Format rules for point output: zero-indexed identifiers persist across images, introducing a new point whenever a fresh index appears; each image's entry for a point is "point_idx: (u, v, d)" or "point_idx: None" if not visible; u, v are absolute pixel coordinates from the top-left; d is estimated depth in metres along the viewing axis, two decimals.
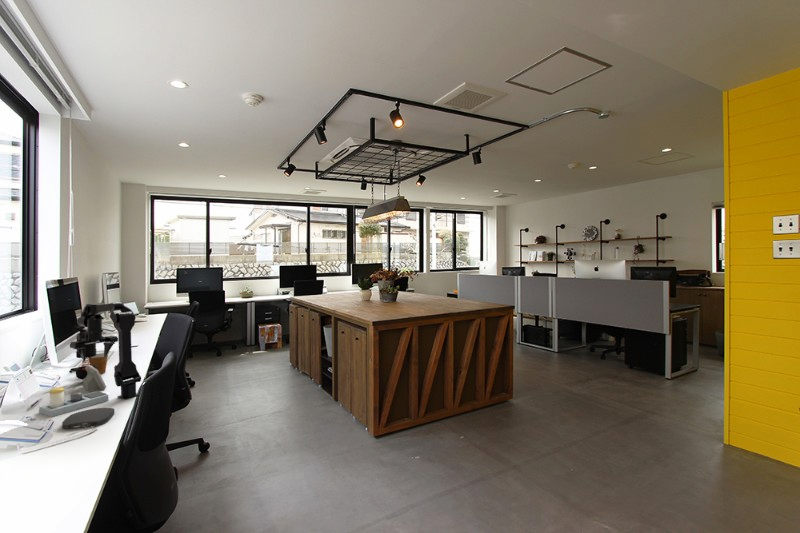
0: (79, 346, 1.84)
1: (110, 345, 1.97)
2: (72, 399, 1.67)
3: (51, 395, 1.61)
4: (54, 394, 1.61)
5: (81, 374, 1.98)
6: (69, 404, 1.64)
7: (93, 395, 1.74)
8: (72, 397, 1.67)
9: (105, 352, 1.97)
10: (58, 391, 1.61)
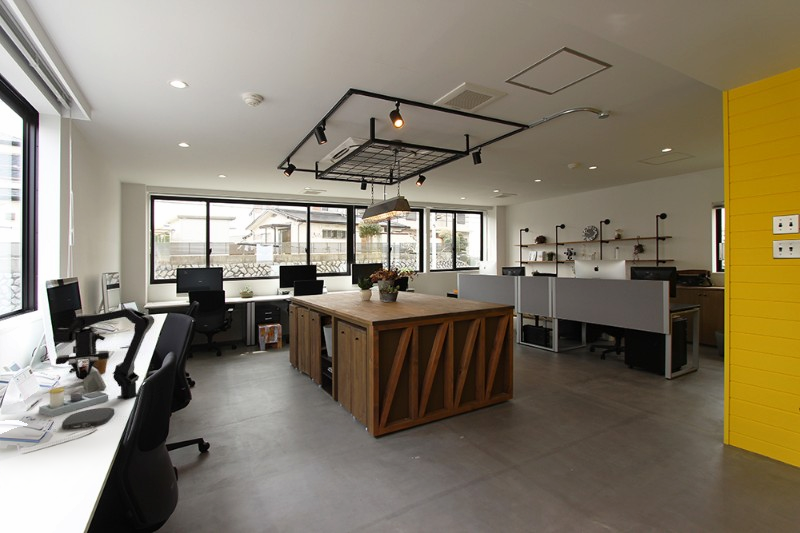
0: (59, 362, 1.69)
1: (90, 363, 1.76)
2: (72, 399, 1.67)
3: (51, 395, 1.61)
4: (54, 394, 1.61)
5: (81, 374, 1.98)
6: (69, 404, 1.64)
7: (93, 395, 1.74)
8: (72, 397, 1.67)
9: (88, 370, 1.77)
10: (58, 391, 1.61)
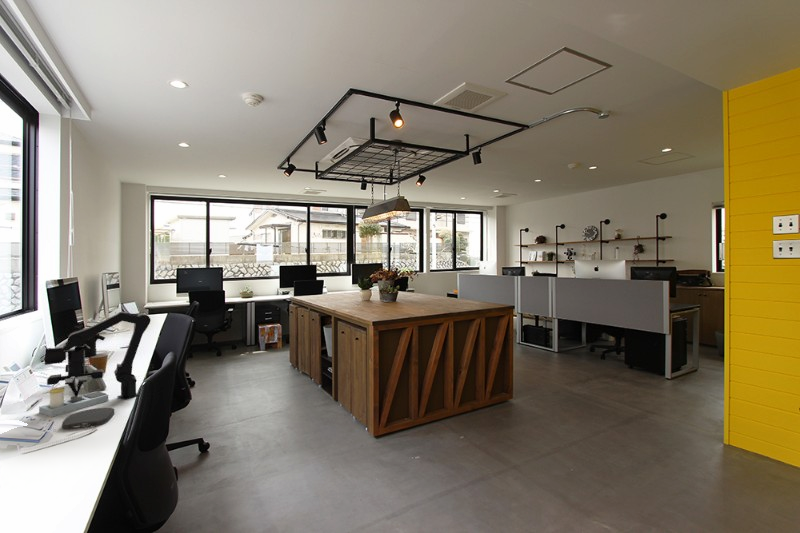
0: (51, 382, 1.62)
1: (79, 383, 1.68)
2: (72, 402, 1.67)
3: (51, 395, 1.61)
4: (54, 394, 1.61)
5: None
6: (69, 404, 1.64)
7: (93, 395, 1.74)
8: (72, 400, 1.67)
9: (76, 391, 1.69)
10: (58, 391, 1.61)
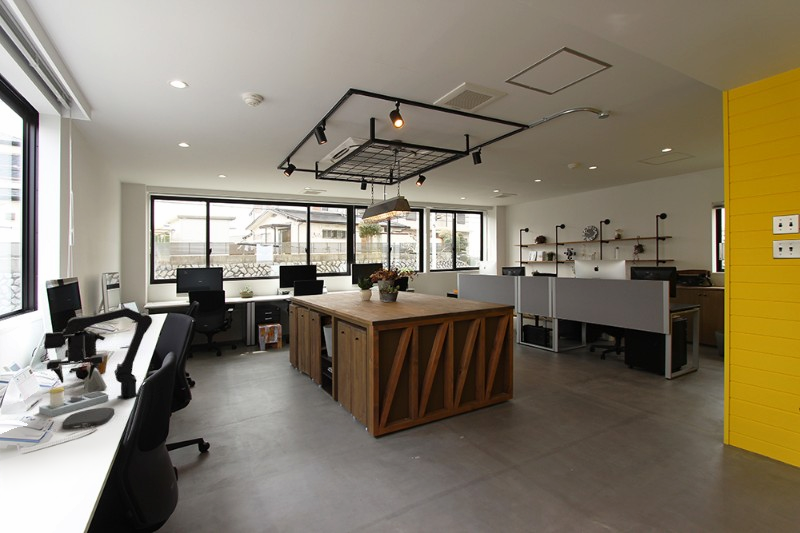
0: (51, 367, 1.62)
1: (92, 367, 1.70)
2: None
3: (51, 395, 1.61)
4: (54, 394, 1.61)
5: (81, 374, 1.98)
6: (69, 404, 1.64)
7: (93, 395, 1.74)
8: (72, 401, 1.67)
9: (89, 374, 1.71)
10: (58, 391, 1.61)
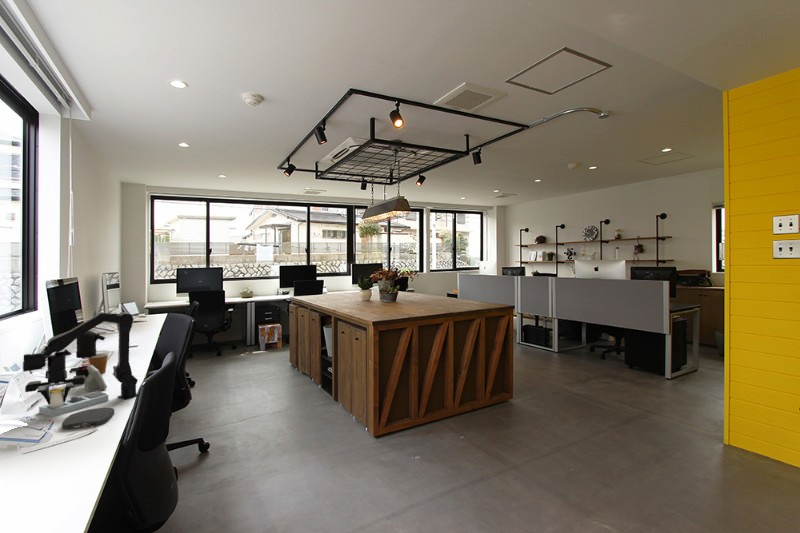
0: (29, 389, 1.56)
1: (66, 389, 1.62)
2: None
3: (51, 395, 1.61)
4: (54, 394, 1.61)
5: (81, 374, 1.98)
6: (69, 404, 1.64)
7: (93, 395, 1.74)
8: (72, 401, 1.67)
9: None
10: (58, 391, 1.61)
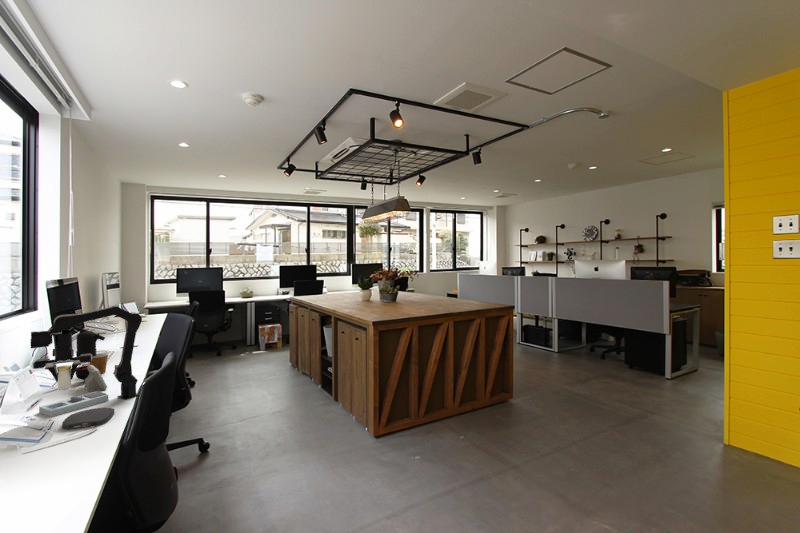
0: (37, 366, 1.58)
1: (73, 366, 1.65)
2: None
3: (58, 372, 1.63)
4: (61, 371, 1.63)
5: (81, 374, 1.98)
6: (69, 404, 1.64)
7: (93, 395, 1.74)
8: (72, 401, 1.67)
9: (71, 374, 1.66)
10: (65, 368, 1.64)
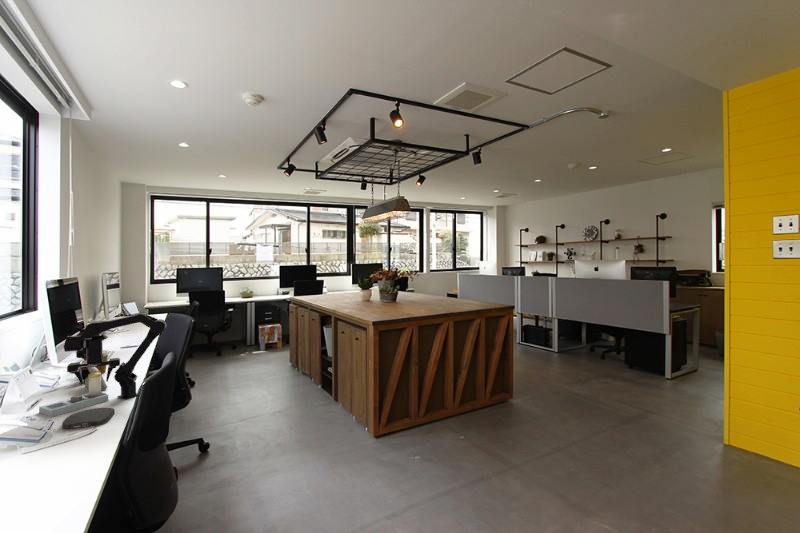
0: (71, 369, 1.68)
1: (109, 369, 1.76)
2: None
3: (90, 379, 1.73)
4: (92, 378, 1.73)
5: None
6: (69, 404, 1.64)
7: None
8: (72, 401, 1.67)
9: None
10: (96, 375, 1.74)
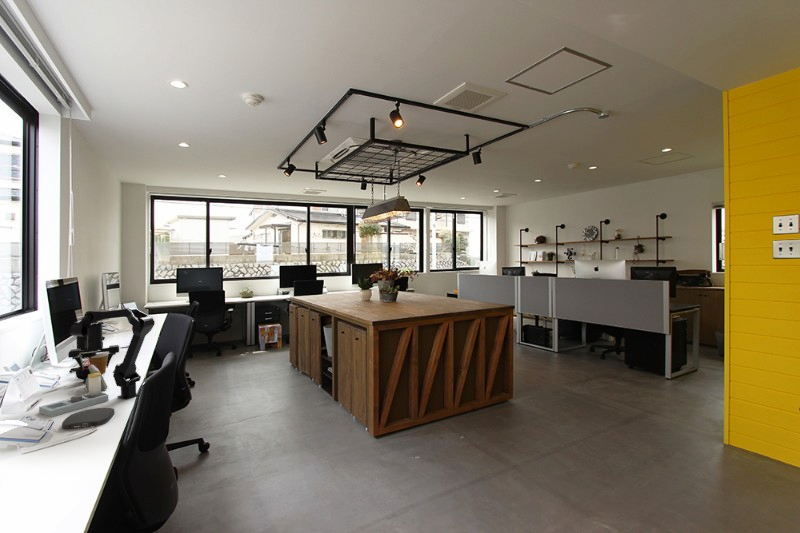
0: (72, 355, 1.75)
1: (109, 356, 1.83)
2: None
3: (90, 379, 1.73)
4: (92, 378, 1.73)
5: (81, 374, 1.98)
6: (69, 404, 1.64)
7: None
8: (72, 401, 1.67)
9: None
10: (96, 375, 1.74)
